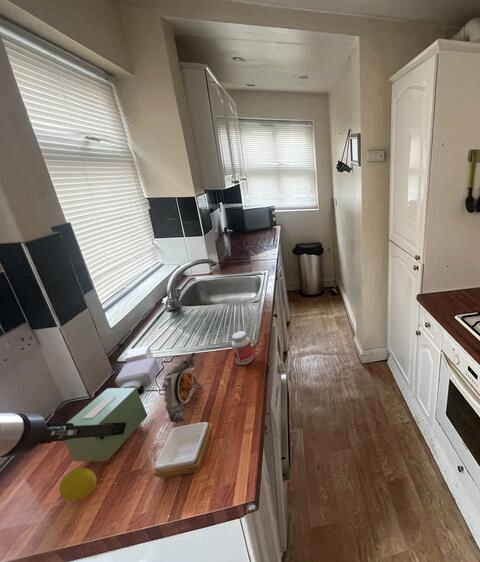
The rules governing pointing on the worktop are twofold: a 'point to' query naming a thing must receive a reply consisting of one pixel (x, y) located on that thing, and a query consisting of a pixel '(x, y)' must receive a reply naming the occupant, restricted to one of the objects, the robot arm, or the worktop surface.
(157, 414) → the worktop surface
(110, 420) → the tissue box
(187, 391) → the meal
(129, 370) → the charger
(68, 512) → the worktop surface
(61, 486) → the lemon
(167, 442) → the soap dish
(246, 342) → the pill bottle
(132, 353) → the white cube
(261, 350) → the worktop surface
